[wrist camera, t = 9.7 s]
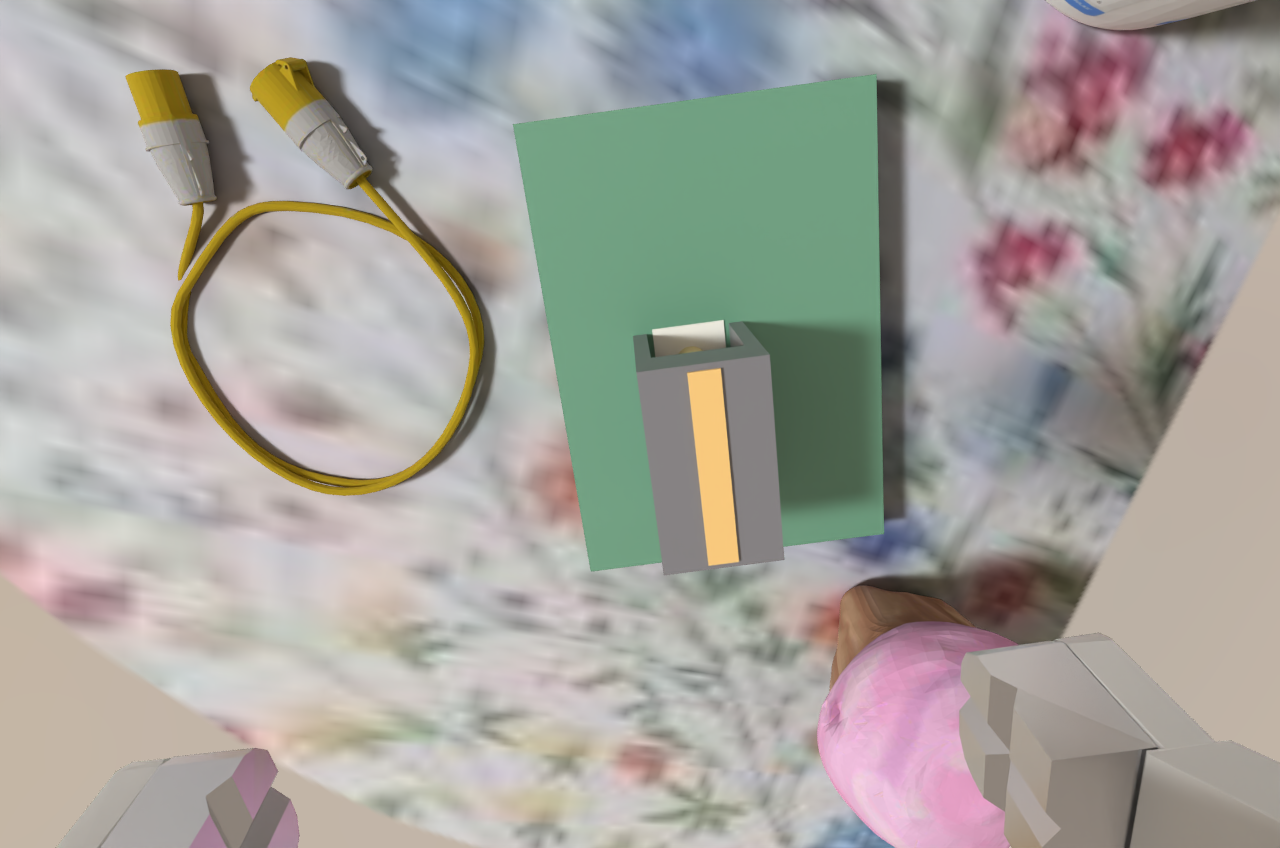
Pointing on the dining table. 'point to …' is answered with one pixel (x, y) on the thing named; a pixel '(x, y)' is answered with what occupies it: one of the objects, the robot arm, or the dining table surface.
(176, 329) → the extension cord
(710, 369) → the box
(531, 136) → the header board
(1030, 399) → the dining table surface
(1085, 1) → the supplement tub
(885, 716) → the cupcake
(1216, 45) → the dining table surface
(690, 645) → the dining table surface
